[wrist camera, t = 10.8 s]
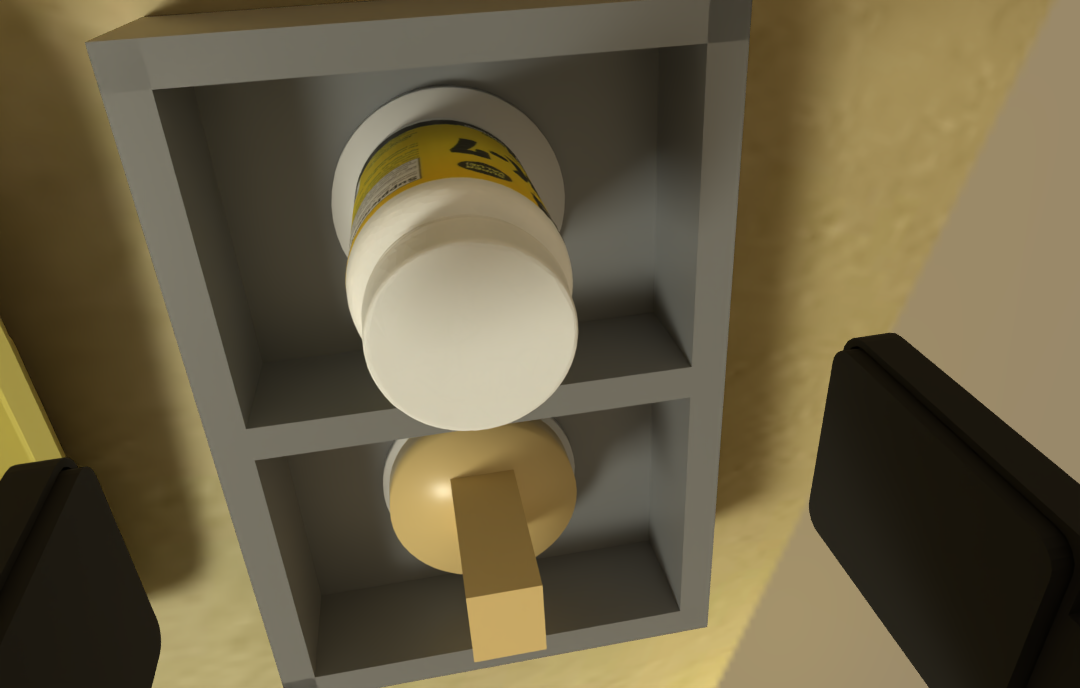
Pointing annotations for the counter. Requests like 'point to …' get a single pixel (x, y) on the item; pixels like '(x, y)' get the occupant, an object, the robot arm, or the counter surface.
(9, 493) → the robot arm
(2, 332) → the plastic component
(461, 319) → the supplement bottle
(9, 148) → the counter surface
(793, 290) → the counter surface
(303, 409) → the grey divided bin
